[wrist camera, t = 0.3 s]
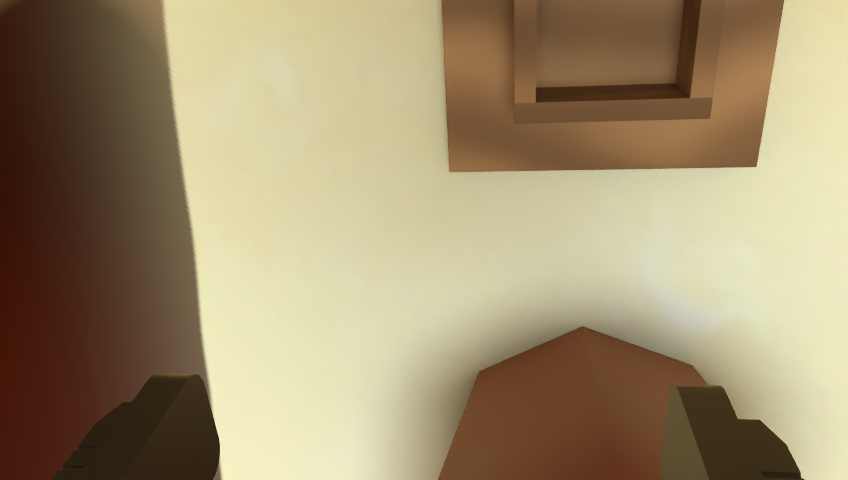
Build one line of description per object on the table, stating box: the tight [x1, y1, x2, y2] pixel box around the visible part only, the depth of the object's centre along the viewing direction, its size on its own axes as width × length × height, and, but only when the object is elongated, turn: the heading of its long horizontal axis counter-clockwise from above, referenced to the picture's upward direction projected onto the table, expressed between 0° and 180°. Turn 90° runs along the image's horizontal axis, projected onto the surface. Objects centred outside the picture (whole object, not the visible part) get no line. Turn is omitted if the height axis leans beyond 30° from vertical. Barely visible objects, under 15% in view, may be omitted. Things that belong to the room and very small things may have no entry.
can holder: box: [442, 0, 784, 172], centre depth 32 cm, size 16×16×4 cm
